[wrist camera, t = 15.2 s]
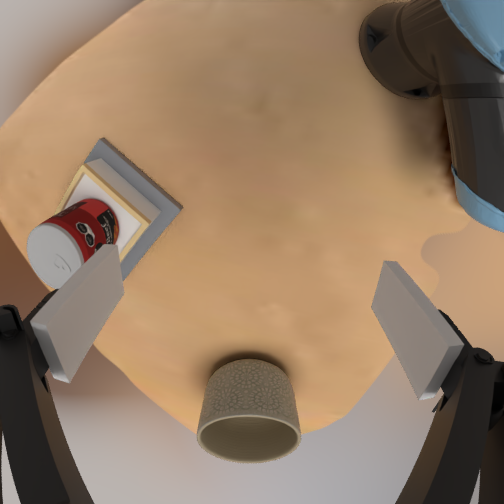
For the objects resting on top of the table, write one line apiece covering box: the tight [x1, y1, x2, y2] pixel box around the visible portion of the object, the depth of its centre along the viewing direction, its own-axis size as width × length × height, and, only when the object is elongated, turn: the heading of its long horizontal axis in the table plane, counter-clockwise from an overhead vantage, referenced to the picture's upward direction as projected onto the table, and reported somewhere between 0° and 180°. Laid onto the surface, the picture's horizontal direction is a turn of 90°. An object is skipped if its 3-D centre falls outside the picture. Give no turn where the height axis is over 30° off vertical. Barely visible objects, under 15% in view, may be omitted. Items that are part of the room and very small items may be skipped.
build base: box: [53, 138, 183, 281], centre depth 39 cm, size 16×16×7 cm
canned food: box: [27, 199, 119, 289], centre depth 32 cm, size 8×8×11 cm
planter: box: [197, 359, 301, 463], centre depth 49 cm, size 17×17×15 cm
